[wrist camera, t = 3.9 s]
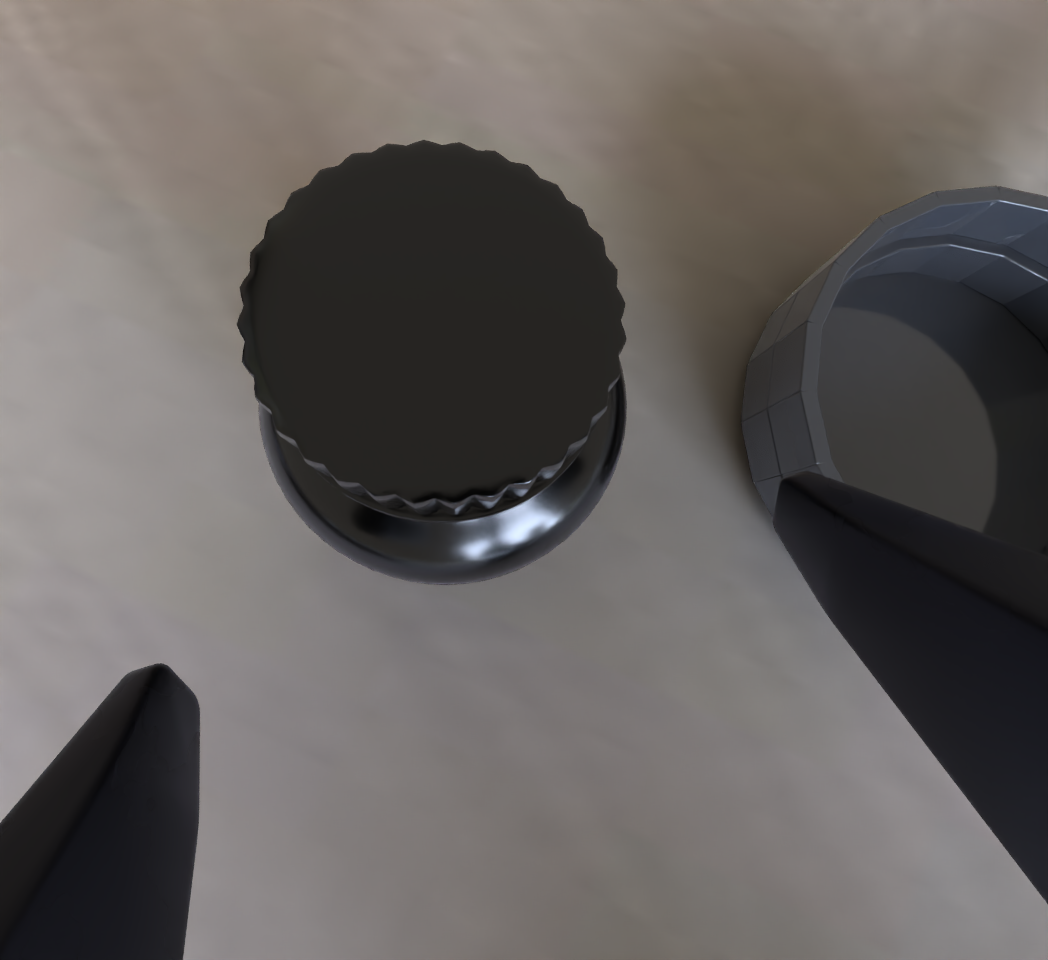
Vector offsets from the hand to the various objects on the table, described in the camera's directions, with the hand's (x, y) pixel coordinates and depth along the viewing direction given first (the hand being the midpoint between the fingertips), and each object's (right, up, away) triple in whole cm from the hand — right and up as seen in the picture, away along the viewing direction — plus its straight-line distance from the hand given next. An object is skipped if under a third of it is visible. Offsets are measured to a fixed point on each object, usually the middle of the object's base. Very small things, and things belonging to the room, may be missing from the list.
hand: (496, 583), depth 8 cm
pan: (+14, +3, +12) cm, 19 cm away
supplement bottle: (-2, +2, +11) cm, 11 cm away
